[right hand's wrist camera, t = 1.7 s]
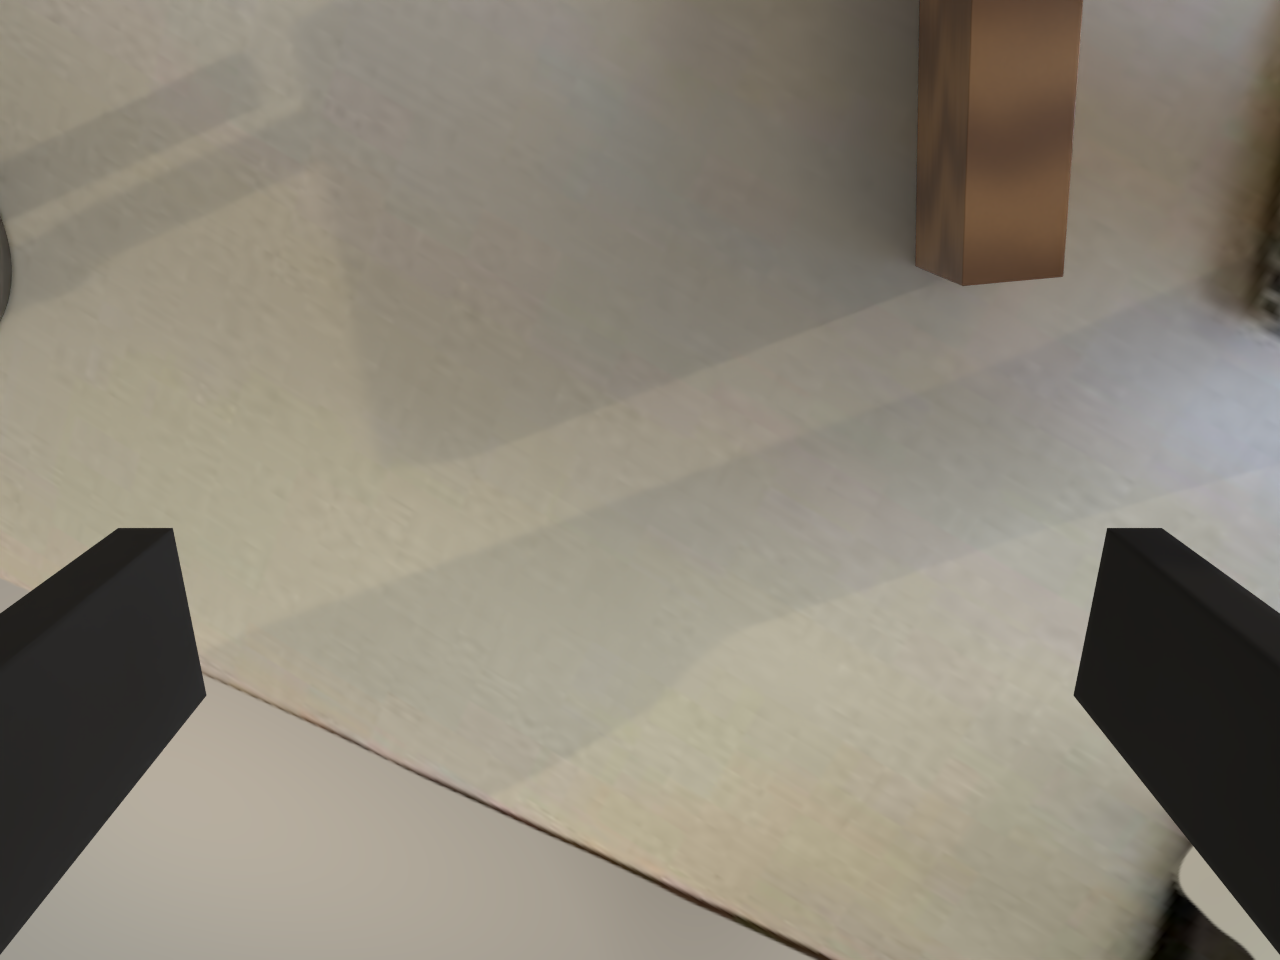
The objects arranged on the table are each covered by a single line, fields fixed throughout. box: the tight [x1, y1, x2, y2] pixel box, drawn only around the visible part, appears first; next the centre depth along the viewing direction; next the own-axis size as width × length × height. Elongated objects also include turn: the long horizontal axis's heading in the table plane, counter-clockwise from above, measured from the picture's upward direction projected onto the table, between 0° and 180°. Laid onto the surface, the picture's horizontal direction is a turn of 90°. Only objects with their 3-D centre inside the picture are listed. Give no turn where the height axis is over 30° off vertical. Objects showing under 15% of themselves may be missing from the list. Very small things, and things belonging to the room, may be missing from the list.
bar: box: [915, 0, 1083, 286], centre depth 42 cm, size 25×5×8 cm, turn 5°
